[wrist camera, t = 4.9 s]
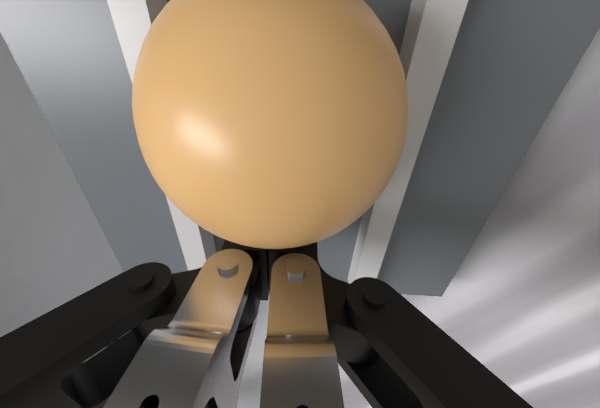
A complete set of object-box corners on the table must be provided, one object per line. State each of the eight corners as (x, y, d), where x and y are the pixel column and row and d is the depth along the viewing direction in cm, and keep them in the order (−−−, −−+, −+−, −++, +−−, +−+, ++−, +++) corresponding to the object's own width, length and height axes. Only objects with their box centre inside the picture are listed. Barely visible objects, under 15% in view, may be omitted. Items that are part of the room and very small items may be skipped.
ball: (211, 175, 10) (119, 300, 5) (182, -15, 7) (-111, -152, 2) (358, 183, 10) (403, 316, 5) (393, -3, 7) (588, -112, 2)
